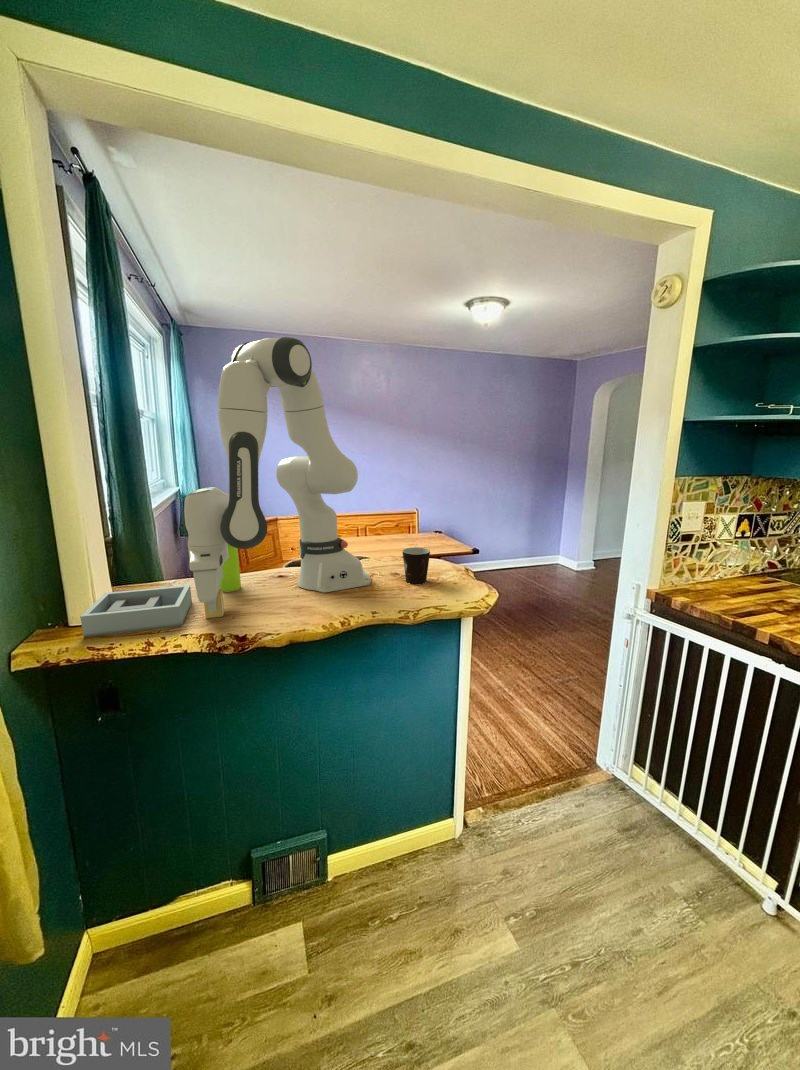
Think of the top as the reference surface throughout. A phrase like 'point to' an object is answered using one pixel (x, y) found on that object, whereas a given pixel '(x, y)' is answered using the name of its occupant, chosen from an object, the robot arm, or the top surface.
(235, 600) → the top surface
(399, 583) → the top surface
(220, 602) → the connector
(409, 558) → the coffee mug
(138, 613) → the caddy
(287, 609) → the top surface
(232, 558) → the soap dispenser
